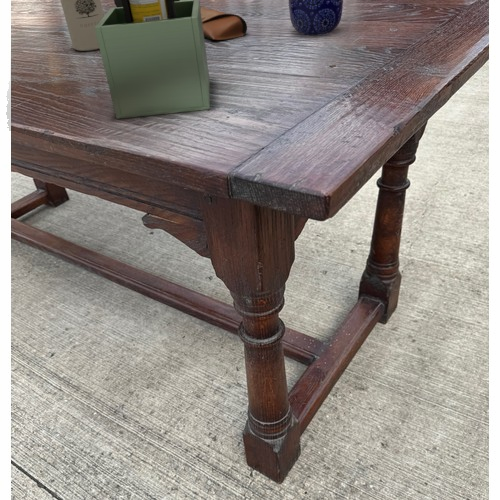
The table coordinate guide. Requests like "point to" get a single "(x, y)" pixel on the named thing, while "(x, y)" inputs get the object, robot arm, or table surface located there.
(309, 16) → the planter
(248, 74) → the table surface
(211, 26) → the sunglasses case
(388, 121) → the table surface
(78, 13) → the travel mug
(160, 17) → the supplement bottle
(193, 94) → the bin
